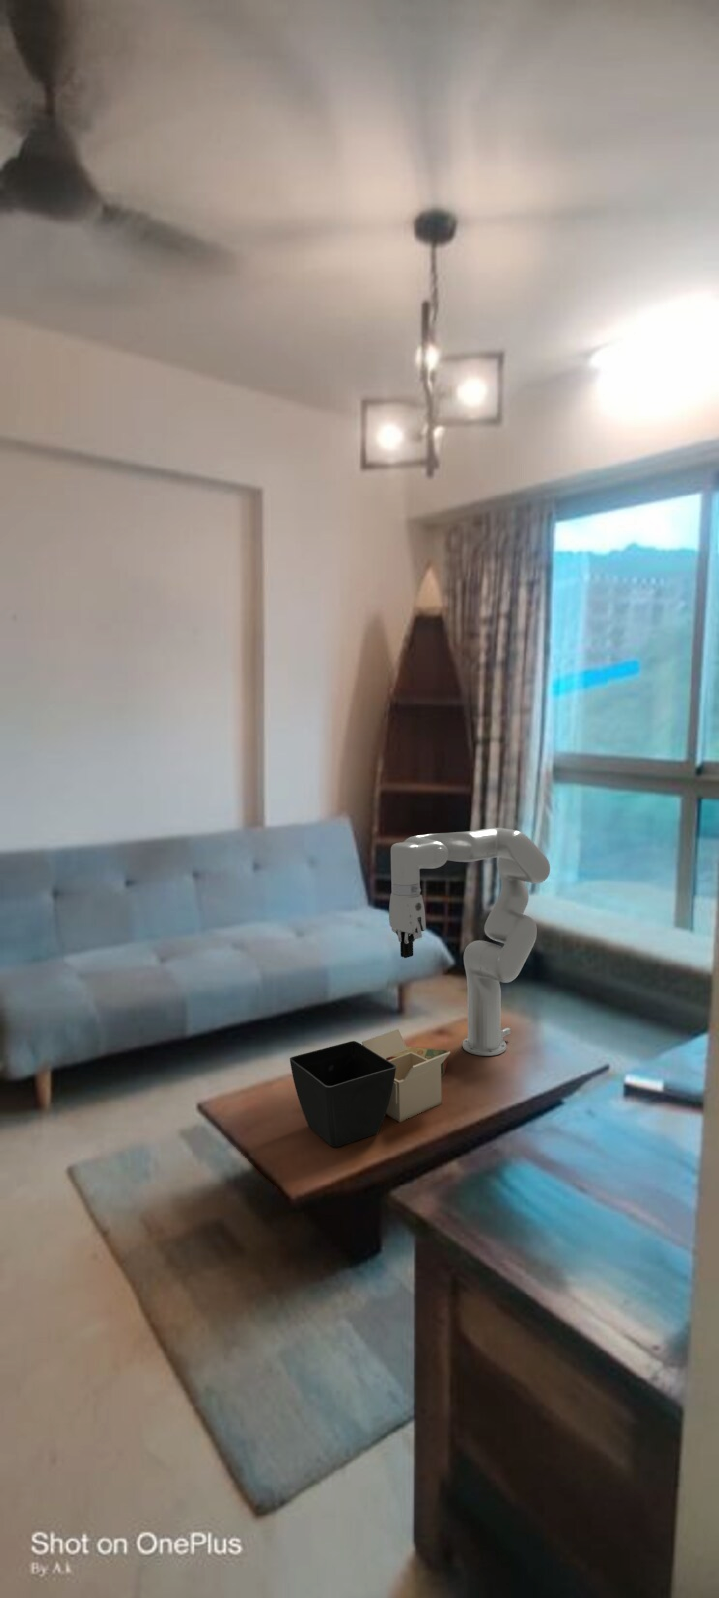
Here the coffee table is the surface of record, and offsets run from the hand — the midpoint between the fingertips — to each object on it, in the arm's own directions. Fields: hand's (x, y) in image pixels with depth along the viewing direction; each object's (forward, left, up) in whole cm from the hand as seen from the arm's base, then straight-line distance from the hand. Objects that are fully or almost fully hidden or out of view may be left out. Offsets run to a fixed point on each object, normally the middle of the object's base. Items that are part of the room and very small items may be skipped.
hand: (407, 956), depth 212 cm
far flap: (+12, +4, -20) cm, 24 cm away
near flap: (+12, +19, -20) cm, 30 cm away
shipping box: (+12, +12, -33) cm, 37 cm away
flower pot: (+31, +11, -33) cm, 47 cm away
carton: (-5, -2, -34) cm, 34 cm away
